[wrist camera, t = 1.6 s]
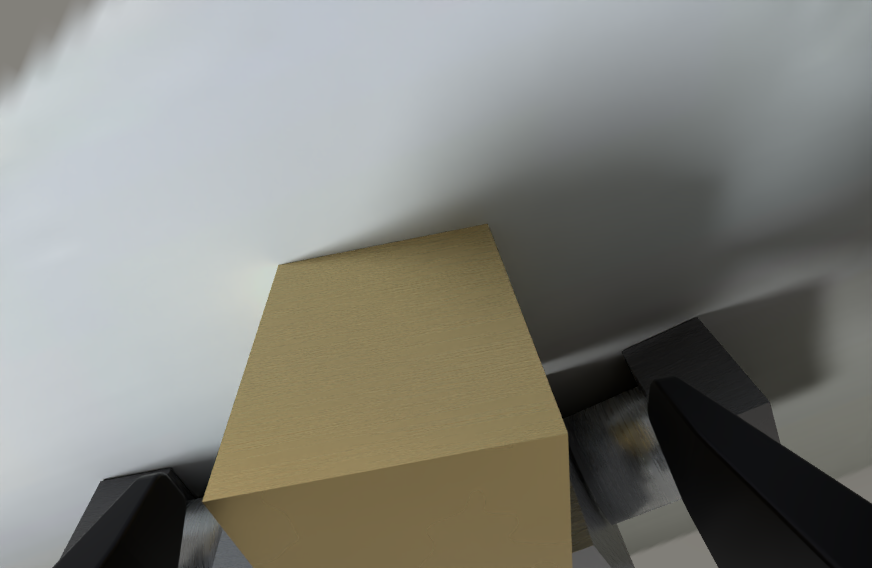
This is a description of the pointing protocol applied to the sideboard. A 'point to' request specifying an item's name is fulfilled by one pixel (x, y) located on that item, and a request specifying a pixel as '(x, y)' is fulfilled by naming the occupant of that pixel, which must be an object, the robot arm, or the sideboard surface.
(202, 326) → the sideboard surface
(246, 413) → the block
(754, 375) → the sideboard surface
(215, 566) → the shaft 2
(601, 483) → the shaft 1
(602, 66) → the sideboard surface
